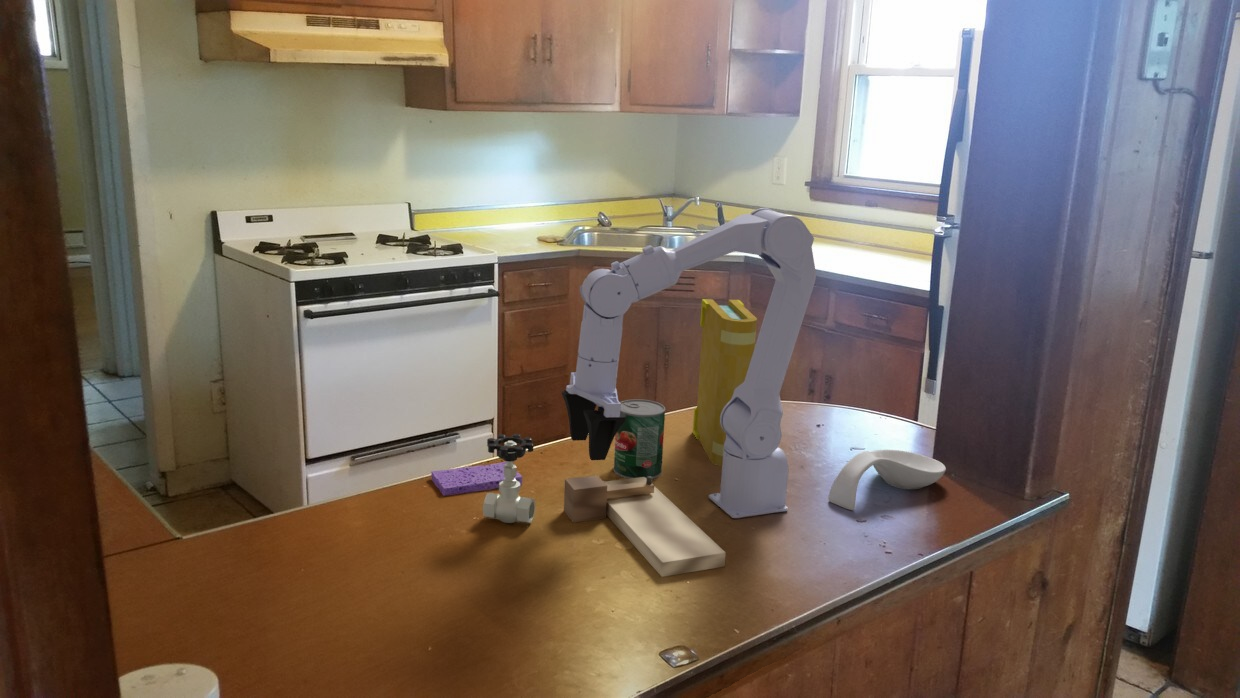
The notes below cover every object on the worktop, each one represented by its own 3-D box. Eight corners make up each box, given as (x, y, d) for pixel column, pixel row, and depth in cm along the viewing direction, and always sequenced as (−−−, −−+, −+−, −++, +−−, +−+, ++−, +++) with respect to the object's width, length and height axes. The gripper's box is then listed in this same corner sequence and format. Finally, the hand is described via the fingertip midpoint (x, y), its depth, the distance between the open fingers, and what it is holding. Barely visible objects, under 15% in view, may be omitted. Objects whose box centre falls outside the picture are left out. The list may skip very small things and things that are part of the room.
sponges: (522, 488, 142) (522, 476, 142) (442, 499, 137) (442, 487, 136) (507, 471, 148) (508, 460, 148) (430, 481, 143) (430, 470, 142)
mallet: (645, 500, 138) (647, 469, 137) (656, 511, 135) (658, 479, 134) (563, 510, 133) (564, 478, 132) (573, 522, 130) (574, 489, 129)
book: (692, 432, 169) (701, 299, 162) (728, 432, 169) (739, 299, 163) (711, 467, 152) (722, 321, 146) (750, 467, 153) (763, 321, 147)
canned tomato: (671, 471, 150) (675, 407, 147) (640, 484, 144) (644, 418, 141) (634, 458, 155) (638, 396, 152) (603, 470, 149) (606, 405, 146)
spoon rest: (893, 463, 159) (899, 424, 157) (956, 485, 150) (962, 444, 148) (809, 496, 143) (814, 453, 142) (874, 523, 135) (879, 477, 133)
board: (643, 488, 143) (644, 476, 142) (724, 566, 119) (725, 552, 119) (589, 495, 139) (590, 483, 139) (661, 576, 116) (662, 562, 116)
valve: (524, 534, 126) (526, 452, 123) (478, 528, 127) (479, 447, 124) (538, 514, 132) (540, 436, 129) (494, 509, 133) (495, 431, 130)
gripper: (554, 342, 132) (545, 432, 135) (589, 371, 119) (578, 469, 122) (599, 343, 134) (589, 431, 138) (639, 371, 121) (627, 467, 125)
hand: (587, 449), depth 130 cm, fingers open, 7 cm apart
